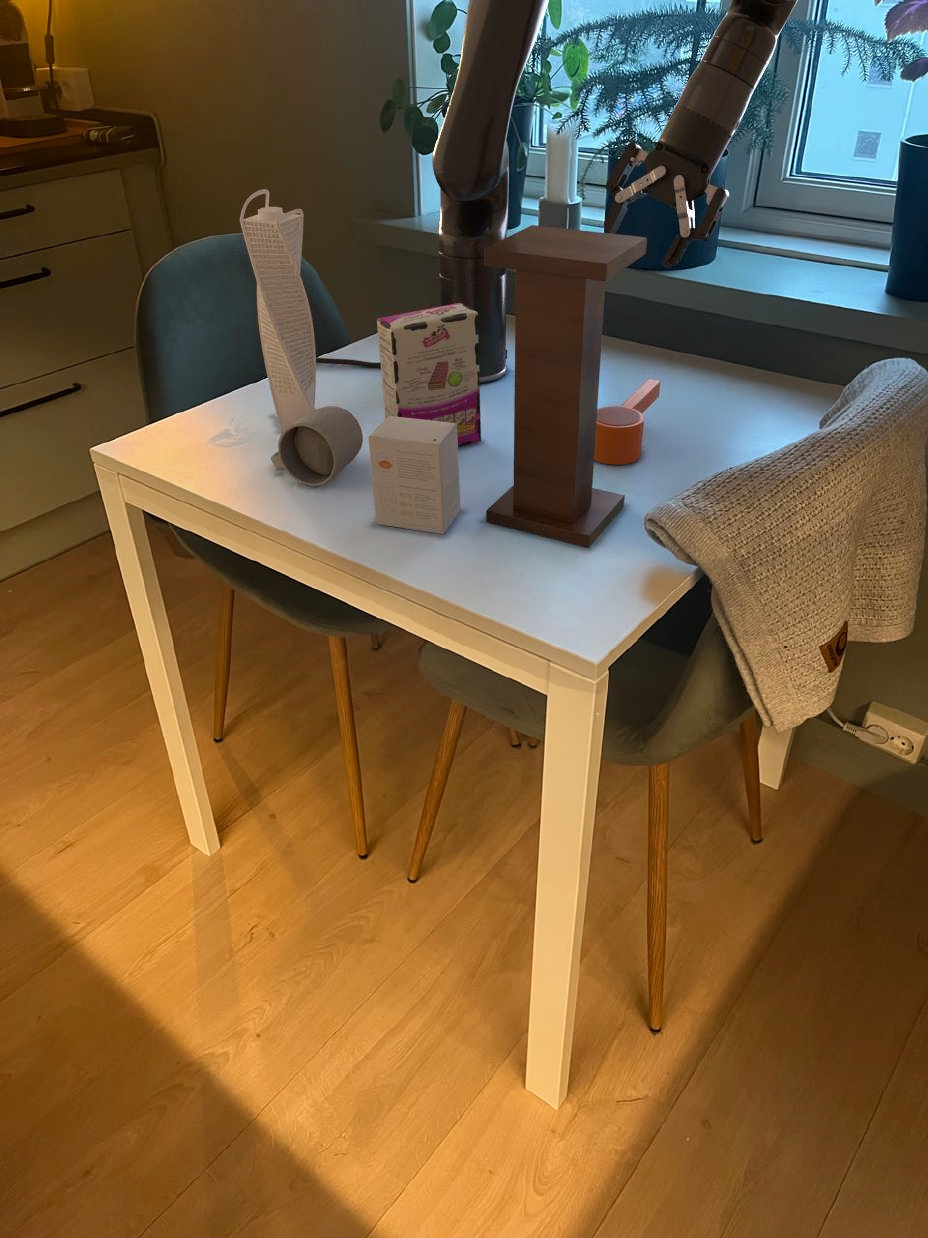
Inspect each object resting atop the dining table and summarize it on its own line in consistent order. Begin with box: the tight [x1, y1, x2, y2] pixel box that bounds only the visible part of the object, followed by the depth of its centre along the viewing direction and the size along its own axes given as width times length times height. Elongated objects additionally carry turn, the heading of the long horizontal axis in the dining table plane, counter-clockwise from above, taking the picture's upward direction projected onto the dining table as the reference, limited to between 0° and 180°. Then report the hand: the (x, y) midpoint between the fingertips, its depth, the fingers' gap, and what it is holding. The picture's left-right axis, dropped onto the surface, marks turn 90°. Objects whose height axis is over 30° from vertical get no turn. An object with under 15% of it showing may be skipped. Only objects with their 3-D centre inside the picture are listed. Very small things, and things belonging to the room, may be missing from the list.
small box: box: [367, 416, 462, 535], centre depth 102 cm, size 8×6×10 cm
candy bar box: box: [376, 303, 482, 448], centre depth 115 cm, size 11×5×16 cm, turn 117°
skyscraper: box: [239, 188, 317, 433], centre depth 119 cm, size 8×7×28 cm
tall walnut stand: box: [484, 224, 648, 549], centre depth 97 cm, size 10×12×28 cm
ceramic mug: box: [270, 405, 364, 487], centre depth 113 cm, size 11×8×8 cm
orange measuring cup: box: [594, 378, 661, 466], centre depth 119 cm, size 16×6×5 cm, turn 151°
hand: (637, 250), depth 119 cm, fingers open, 8 cm apart
